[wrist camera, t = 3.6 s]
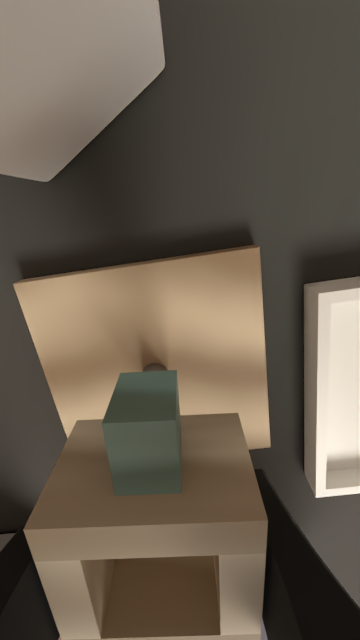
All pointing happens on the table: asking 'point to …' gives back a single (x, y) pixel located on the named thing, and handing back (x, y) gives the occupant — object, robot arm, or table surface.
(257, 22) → the table surface
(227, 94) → the table surface
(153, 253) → the table surface
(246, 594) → the collar
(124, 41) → the milk carton
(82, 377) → the tan base plate
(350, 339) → the tray
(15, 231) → the table surface
